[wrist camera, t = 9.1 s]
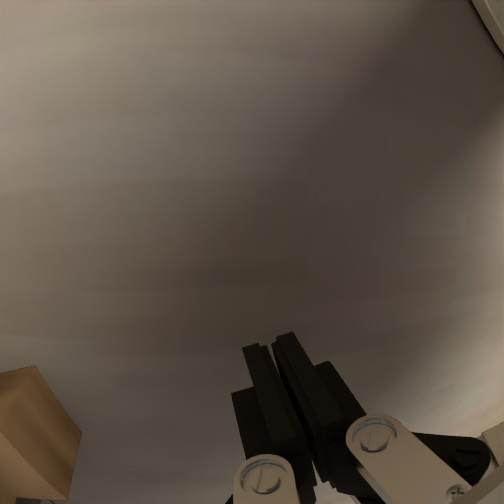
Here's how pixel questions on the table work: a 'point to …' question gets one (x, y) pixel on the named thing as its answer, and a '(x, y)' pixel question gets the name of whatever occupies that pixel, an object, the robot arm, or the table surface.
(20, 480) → the t block
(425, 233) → the table surface
